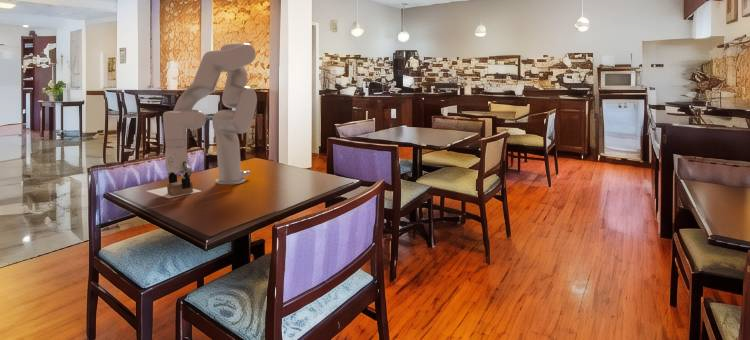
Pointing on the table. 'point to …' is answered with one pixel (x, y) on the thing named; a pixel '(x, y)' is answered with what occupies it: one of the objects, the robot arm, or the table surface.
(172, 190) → the brown block
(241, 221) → the table surface
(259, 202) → the table surface
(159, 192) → the mat
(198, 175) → the table surface
